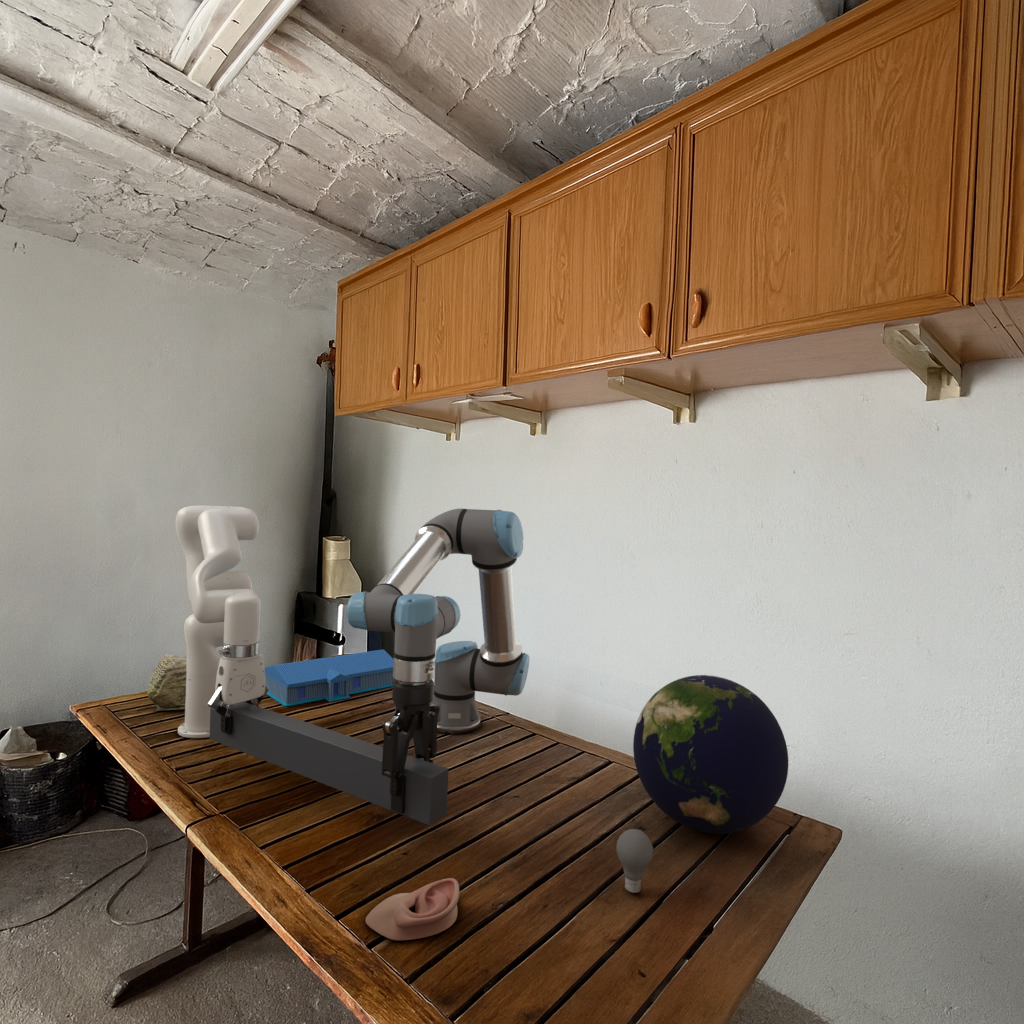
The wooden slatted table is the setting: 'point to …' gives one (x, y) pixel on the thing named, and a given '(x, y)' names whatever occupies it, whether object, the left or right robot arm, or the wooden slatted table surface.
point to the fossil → (169, 683)
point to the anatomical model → (417, 911)
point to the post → (333, 759)
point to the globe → (710, 754)
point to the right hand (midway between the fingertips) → (408, 804)
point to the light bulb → (634, 857)
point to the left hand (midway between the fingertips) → (238, 728)
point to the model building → (329, 677)
